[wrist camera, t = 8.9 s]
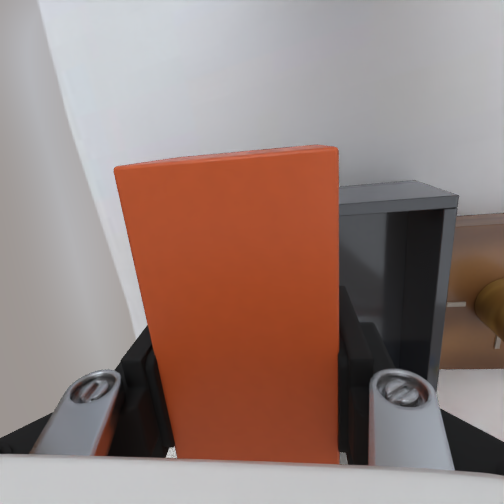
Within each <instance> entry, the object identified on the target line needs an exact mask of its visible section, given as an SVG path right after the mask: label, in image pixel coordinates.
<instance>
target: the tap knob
mask: <svg viewBox="0 0 504 504" xmlns="http://www.w3.org/2000/svg"><path fill="white" fill-rule="evenodd" d="M475 311H476V314H477V316H478V318H479V319H480V320H481V321H482V322H483V323H484V324H485V325H486V326H487V327H488V328H490V329H491V330H492V331H493V332H494V333H495V334H496V335H497V336H498V337H499V338H500V339H501V340H502V341H503V342H504V278H502V279H499V280H496V281H494V282H492V283H490V284H488V285H487V286H486V287H485V288H483V290H482V291H481V292H480V293H479V295H478V296H477V299H476V302H475Z"/></svg>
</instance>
